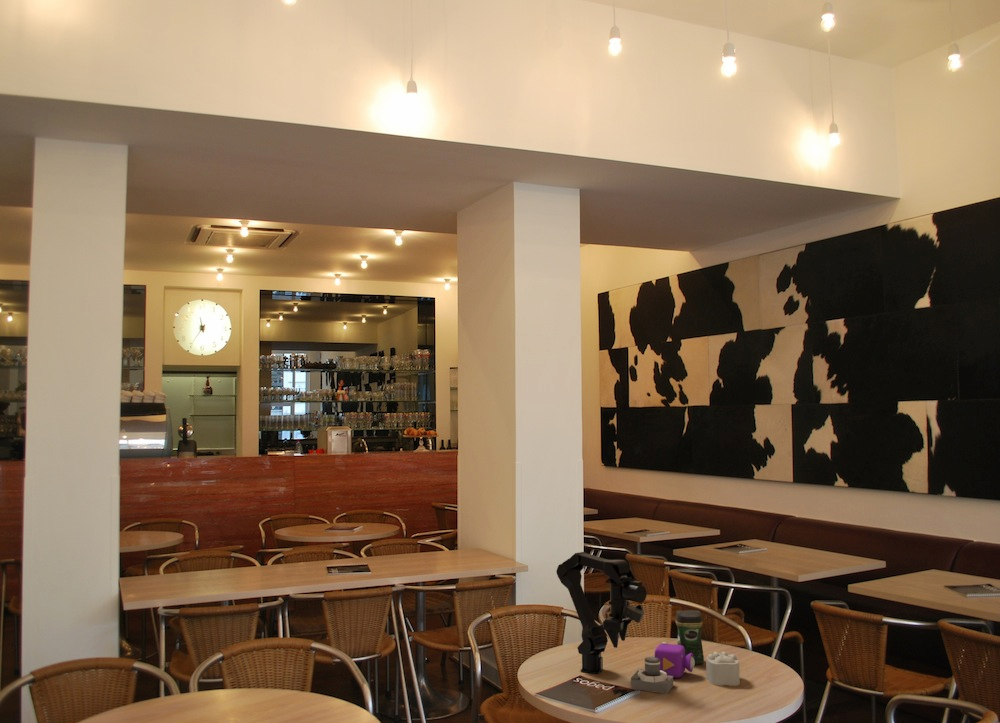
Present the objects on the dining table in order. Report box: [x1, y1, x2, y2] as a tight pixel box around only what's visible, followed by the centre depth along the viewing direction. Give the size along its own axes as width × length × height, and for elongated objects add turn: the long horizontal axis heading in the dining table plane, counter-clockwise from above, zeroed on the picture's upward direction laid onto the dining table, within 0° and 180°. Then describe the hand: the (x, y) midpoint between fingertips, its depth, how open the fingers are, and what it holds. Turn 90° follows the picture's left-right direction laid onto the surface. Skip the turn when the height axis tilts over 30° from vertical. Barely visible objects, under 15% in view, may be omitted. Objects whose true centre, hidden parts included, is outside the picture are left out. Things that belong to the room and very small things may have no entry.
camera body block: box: [630, 668, 674, 695], centre depth 276 cm, size 12×9×4 cm
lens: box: [644, 656, 660, 677], centre depth 277 cm, size 5×5×6 cm
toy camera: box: [654, 641, 696, 679], centre depth 290 cm, size 11×14×10 cm
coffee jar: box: [675, 609, 705, 665], centre depth 304 cm, size 10×8×19 cm
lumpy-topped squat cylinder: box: [705, 650, 741, 687], centre depth 284 cm, size 10×13×9 cm
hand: (619, 644), depth 285 cm, fingers open, 9 cm apart
